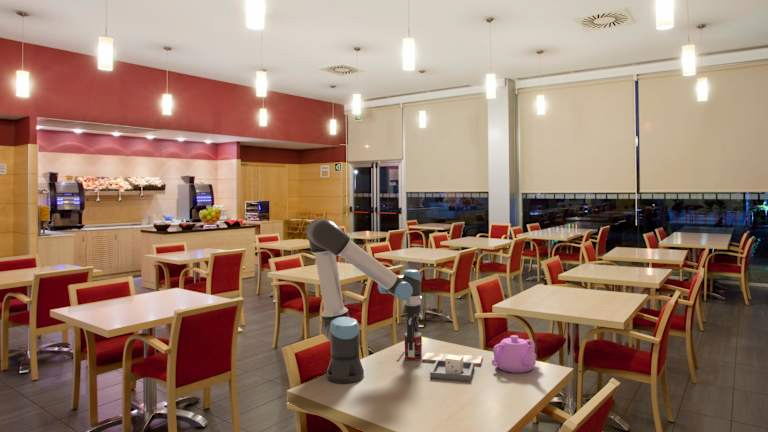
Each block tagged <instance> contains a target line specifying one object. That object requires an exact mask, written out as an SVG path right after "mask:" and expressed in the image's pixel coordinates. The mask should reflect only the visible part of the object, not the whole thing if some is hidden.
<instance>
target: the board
mask: <svg viewBox="0 0 768 432" xmlns="http://www.w3.org/2000/svg"><path fill="white" fill-rule="evenodd" d="M449 354H450V355H456V354H455V353H454V354H451V353H439V352H437V353H436V352H426V353H425V354H424V356H423V357H422V358H421V359H422V360H421V362H422V363H434V364H435V362H436V360H445V358H446V357H447V356H448V355H449ZM403 355H405V351H402V352H401V353H400V355H399V356H398V358H397V359H396V362H399V361H400V360H401V358H402V357H403ZM457 355H458V356H463V362H474V367H481V366H482V362H483V356H482V355H479V356H478V355H471V354H470V355H469V354H466V355H465V354H457Z"/></svg>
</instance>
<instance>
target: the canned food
mask: <svg viewBox="0 0 768 432" xmlns="http://www.w3.org/2000/svg"><path fill="white" fill-rule="evenodd" d="M422 338H423V337H422V333H421V332H420V331H419V332H414V357H408V343H406V341H407V332H405V333H404V352H405V353H404V357H405V359H406V360H408V361H417V360H421V359H422V358H423V357H422V355H423V353H422V351H423V349H422V348H423V347H422V345H423V344H422V343H423V341H422Z"/></svg>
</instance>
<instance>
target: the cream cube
mask: <svg viewBox="0 0 768 432" xmlns="http://www.w3.org/2000/svg"><path fill="white" fill-rule="evenodd" d="M448 354H449V355H448V356H447V357H446V358H445V373H456V374H461V373H462V371H463V356H458V355H459V354H455V355H450V354H451V353H448Z"/></svg>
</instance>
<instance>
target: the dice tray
mask: <svg viewBox="0 0 768 432" xmlns="http://www.w3.org/2000/svg"><path fill="white" fill-rule="evenodd" d="M474 369H475V366H474V362H463V371H462V373H461V374H456V373H445V360H436V362H435V363H434V364H433V365H432V368H431V370H430V372H429V379H433V380H444V381H446V380H447V381H456V382H457V381H458V382H471V380H472V377H473V373H474Z"/></svg>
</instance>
